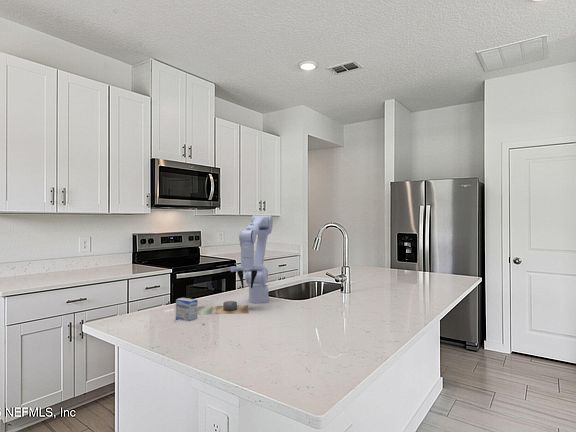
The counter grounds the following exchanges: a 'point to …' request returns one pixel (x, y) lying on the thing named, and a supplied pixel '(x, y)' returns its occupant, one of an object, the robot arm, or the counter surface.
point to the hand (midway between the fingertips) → (247, 287)
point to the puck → (230, 306)
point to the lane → (221, 310)
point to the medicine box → (186, 309)
